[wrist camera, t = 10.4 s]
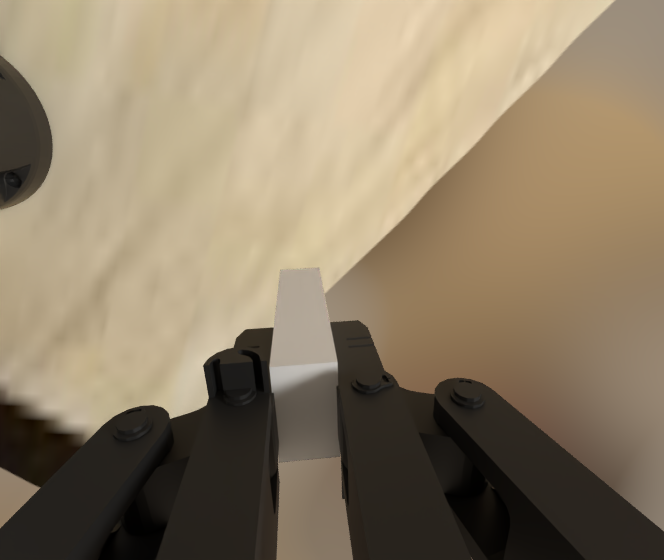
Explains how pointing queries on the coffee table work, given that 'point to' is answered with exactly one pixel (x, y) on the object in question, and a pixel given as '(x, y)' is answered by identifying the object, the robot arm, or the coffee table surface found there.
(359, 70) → the coffee table surface
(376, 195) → the coffee table surface
